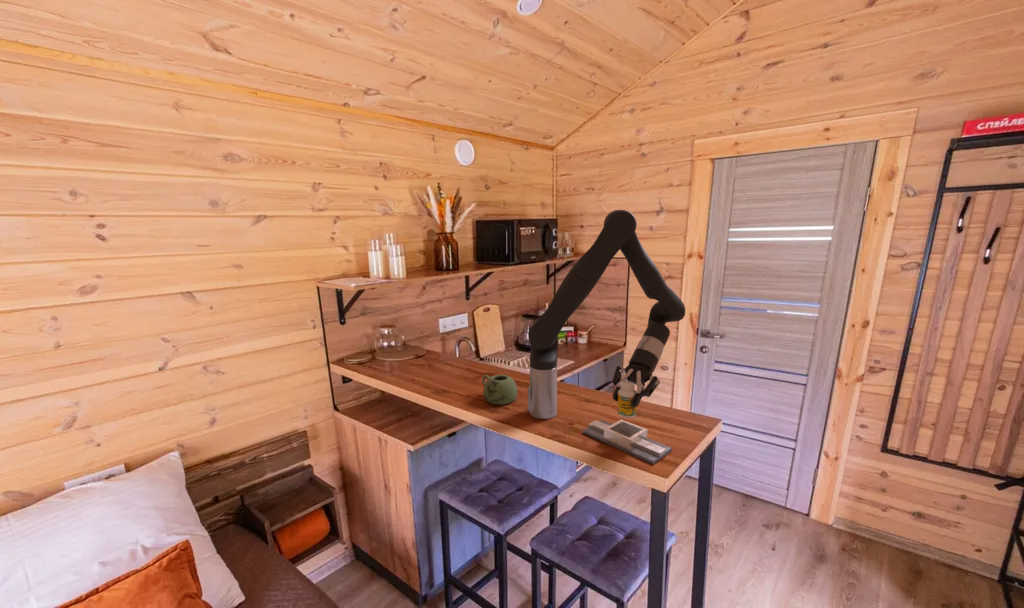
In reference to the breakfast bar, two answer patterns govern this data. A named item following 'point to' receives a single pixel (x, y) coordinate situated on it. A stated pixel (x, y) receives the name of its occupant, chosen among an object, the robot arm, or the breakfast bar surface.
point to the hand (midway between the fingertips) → (623, 402)
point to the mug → (499, 389)
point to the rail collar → (628, 439)
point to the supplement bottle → (626, 400)
